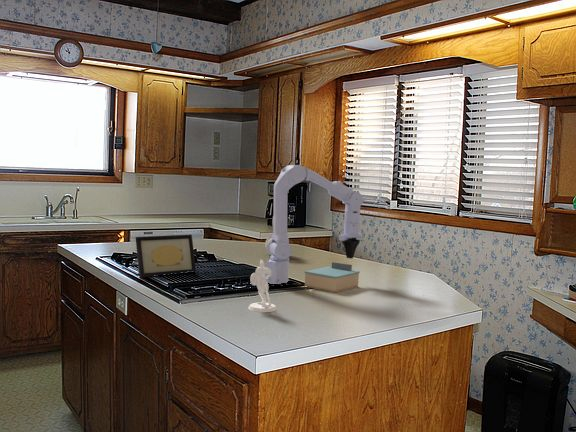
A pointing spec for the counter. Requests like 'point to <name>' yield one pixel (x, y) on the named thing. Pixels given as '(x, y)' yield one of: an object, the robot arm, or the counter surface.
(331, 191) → the robot arm
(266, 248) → the headphones
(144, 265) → the picture frame
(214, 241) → the counter surface
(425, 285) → the counter surface
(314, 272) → the lid
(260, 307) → the figurine
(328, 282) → the mailer box
